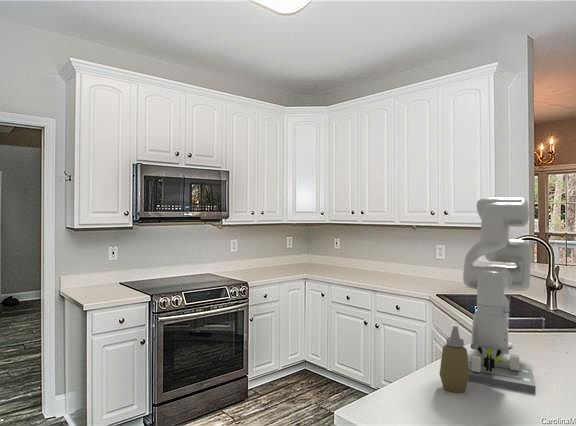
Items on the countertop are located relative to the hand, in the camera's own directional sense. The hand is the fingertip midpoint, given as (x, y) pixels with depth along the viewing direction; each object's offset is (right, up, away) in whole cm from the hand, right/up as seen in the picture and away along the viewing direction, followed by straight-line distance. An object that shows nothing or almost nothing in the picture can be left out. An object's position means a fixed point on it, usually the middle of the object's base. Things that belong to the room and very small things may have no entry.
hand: (489, 370), depth 129 cm
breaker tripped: (-3, -1, +2) cm, 4 cm away
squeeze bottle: (-14, -3, -8) cm, 16 cm away
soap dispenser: (+11, -4, +21) cm, 24 cm away
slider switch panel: (+3, -3, +3) cm, 5 cm away
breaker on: (+10, -1, +4) cm, 11 cm away
